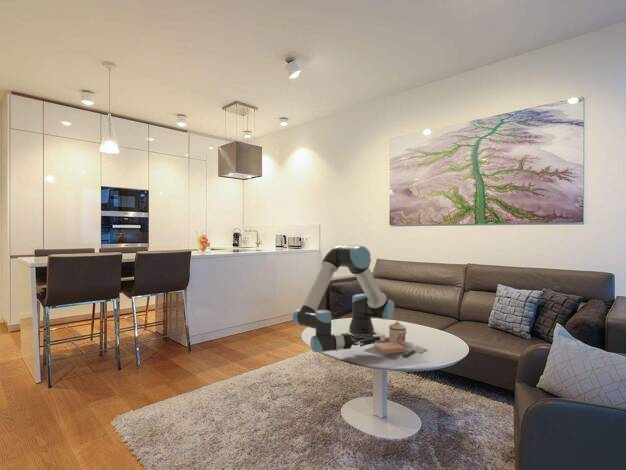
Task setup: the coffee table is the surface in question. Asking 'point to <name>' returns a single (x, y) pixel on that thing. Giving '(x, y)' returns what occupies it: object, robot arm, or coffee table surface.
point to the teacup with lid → (397, 333)
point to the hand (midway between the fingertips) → (384, 337)
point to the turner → (416, 349)
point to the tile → (389, 348)
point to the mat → (391, 356)
